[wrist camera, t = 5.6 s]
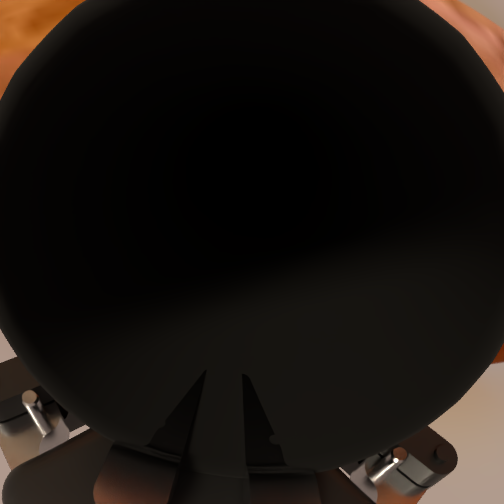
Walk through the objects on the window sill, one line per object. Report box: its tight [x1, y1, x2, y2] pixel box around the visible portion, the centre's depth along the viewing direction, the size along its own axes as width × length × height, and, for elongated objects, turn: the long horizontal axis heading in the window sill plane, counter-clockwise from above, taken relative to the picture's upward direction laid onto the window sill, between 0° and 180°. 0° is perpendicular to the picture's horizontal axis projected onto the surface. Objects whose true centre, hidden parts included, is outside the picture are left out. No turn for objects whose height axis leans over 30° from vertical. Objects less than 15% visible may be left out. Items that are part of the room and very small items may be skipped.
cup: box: [0, 0, 504, 478], centre depth 8 cm, size 8×8×12 cm
